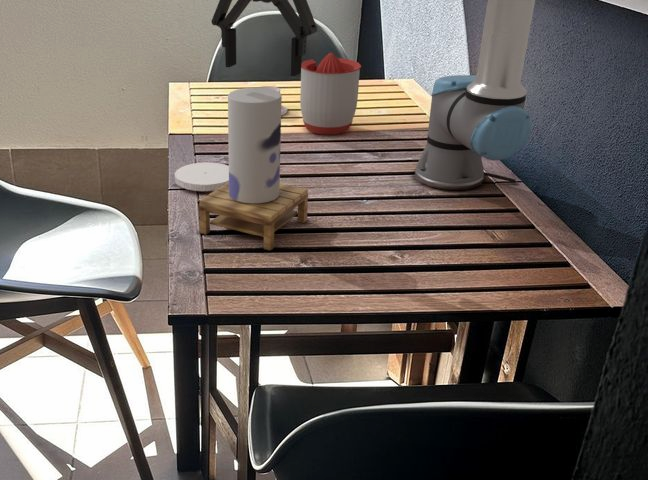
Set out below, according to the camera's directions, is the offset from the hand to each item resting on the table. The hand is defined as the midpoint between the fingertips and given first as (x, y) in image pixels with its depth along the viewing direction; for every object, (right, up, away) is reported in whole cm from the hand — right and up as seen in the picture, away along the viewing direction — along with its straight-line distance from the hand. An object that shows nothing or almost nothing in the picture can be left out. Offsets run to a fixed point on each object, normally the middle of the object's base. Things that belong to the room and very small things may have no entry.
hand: (262, 70), depth 149 cm
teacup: (+5, +13, +83) cm, 84 cm away
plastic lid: (-11, -15, +36) cm, 41 cm away
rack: (-1, -27, +15) cm, 31 cm away
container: (-1, -21, +12) cm, 24 cm away
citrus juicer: (+20, +5, +70) cm, 73 cm away
